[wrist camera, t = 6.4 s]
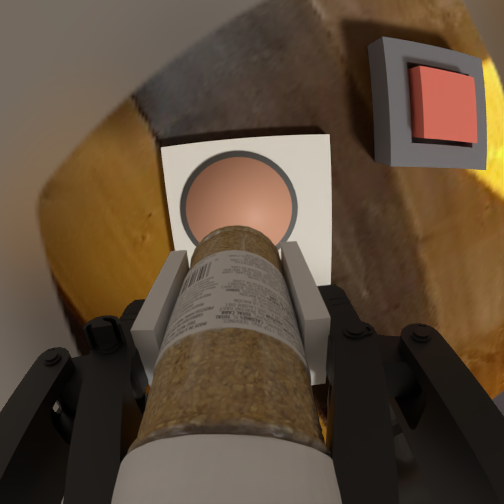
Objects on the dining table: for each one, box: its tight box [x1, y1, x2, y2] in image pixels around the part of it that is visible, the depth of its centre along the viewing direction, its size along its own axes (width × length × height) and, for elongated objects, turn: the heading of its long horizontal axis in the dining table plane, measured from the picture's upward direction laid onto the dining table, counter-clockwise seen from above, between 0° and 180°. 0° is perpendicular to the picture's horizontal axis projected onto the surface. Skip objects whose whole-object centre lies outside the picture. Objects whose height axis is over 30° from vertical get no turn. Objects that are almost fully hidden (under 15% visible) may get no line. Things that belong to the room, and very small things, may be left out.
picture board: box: [161, 134, 332, 286], centre depth 29 cm, size 18×14×1 cm
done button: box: [407, 66, 477, 143], centre depth 22 cm, size 6×6×3 cm
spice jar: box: [111, 225, 342, 504], centre depth 10 cm, size 5×5×14 cm
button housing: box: [367, 37, 487, 170], centre depth 23 cm, size 11×11×4 cm
